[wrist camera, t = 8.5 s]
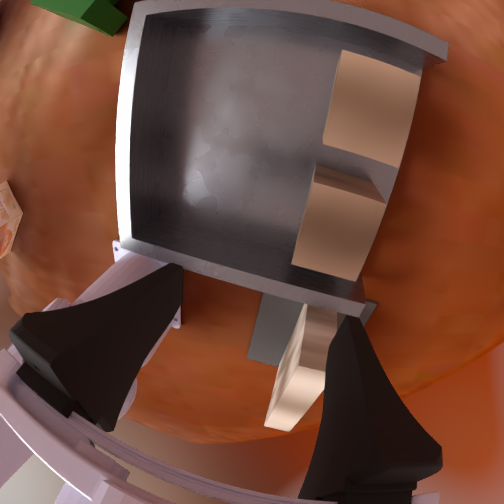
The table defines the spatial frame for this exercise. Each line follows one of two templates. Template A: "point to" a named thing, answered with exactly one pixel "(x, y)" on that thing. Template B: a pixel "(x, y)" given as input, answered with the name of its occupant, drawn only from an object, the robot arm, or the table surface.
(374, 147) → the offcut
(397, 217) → the table surface
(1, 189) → the coffeecake box
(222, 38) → the tray
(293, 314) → the rubber pad
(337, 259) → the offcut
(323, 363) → the birch block
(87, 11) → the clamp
